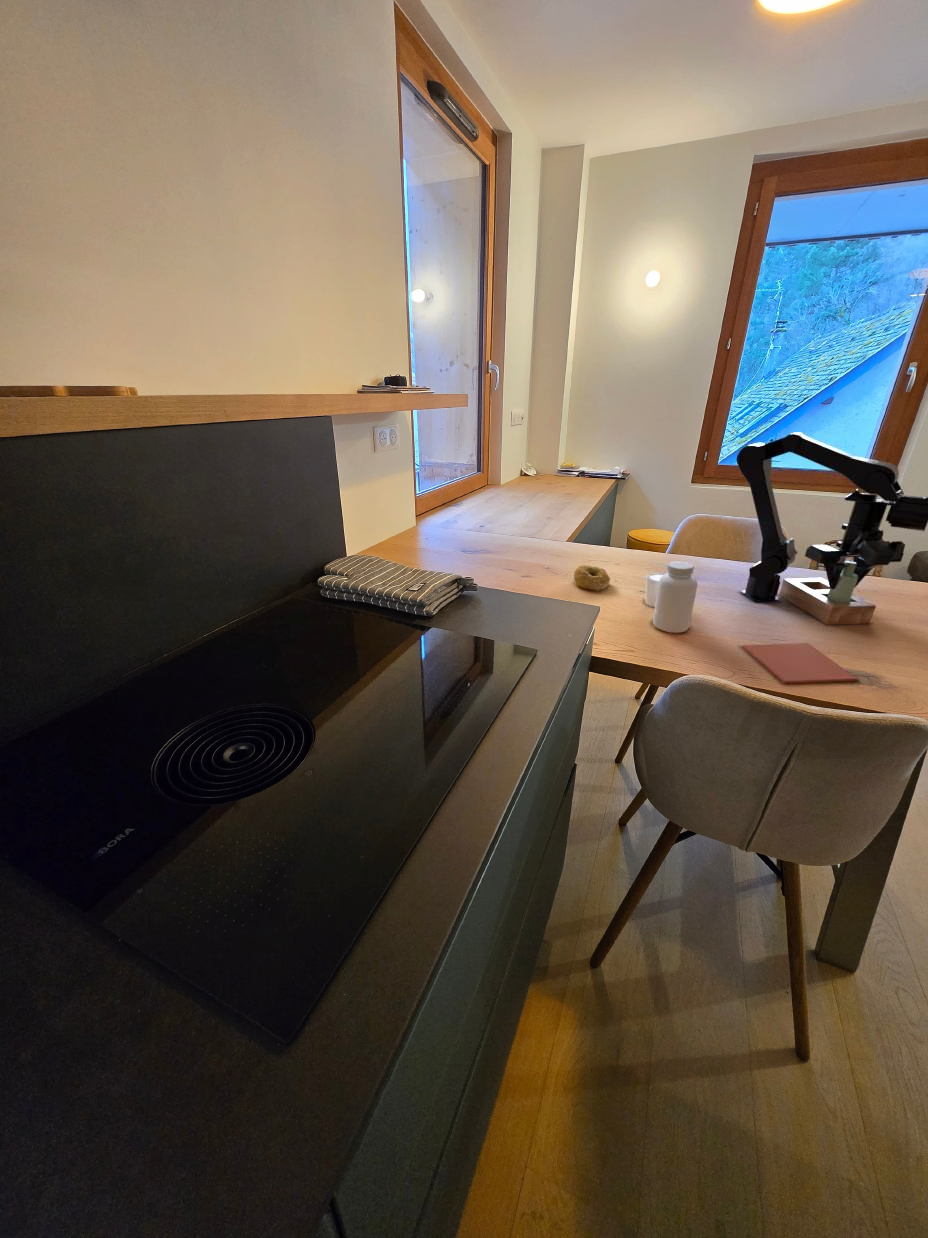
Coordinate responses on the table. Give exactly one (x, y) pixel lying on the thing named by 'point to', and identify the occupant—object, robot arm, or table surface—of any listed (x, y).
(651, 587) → the white short cylinder
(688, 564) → the pill bottle
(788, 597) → the holder
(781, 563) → the robot arm
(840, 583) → the bottle
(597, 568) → the bagel
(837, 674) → the mat
